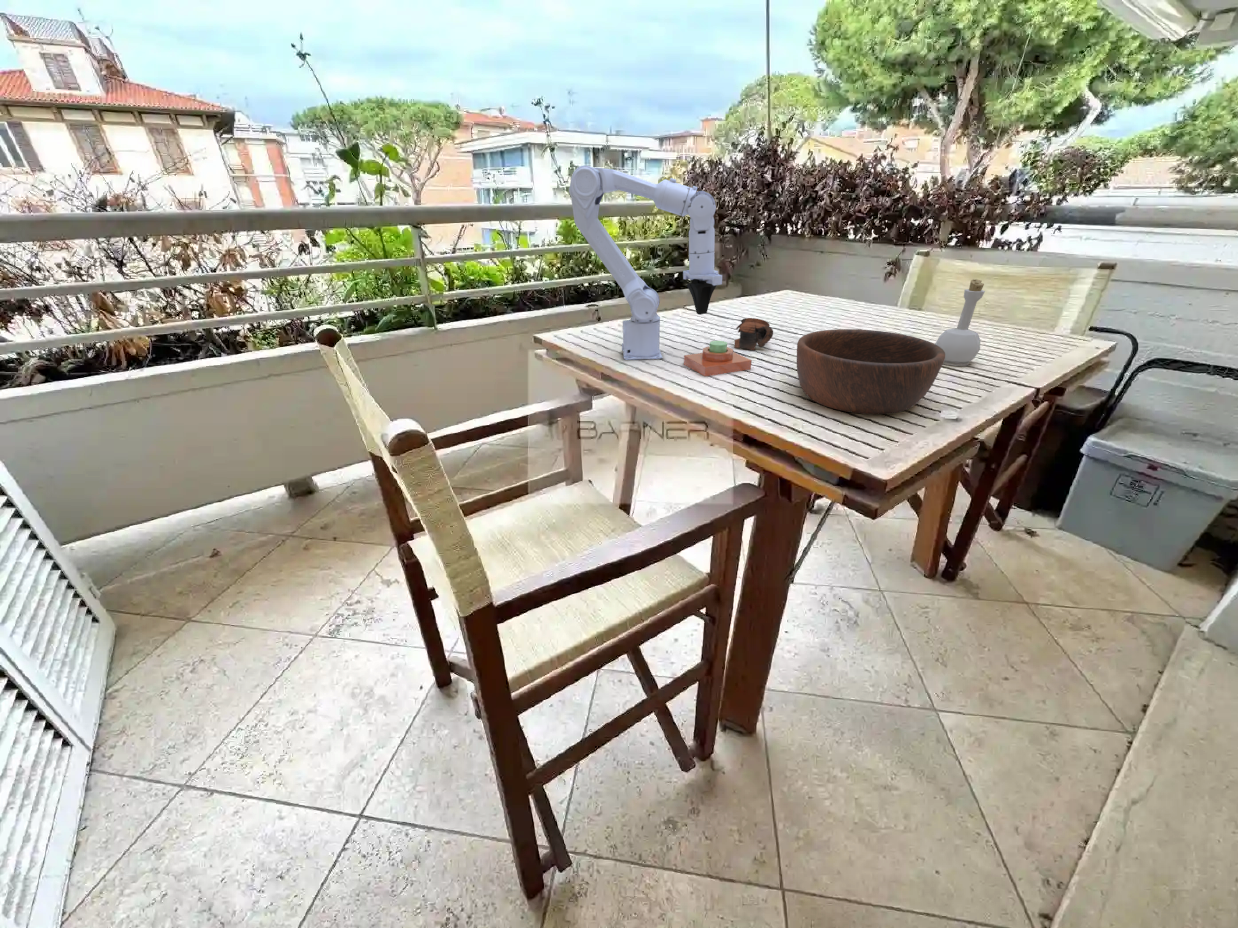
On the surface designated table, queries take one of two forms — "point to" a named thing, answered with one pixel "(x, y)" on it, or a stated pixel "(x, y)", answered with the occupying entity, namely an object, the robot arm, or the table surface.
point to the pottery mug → (753, 333)
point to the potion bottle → (963, 331)
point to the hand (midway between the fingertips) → (701, 313)
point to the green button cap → (718, 346)
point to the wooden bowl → (867, 369)
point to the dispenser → (717, 362)
